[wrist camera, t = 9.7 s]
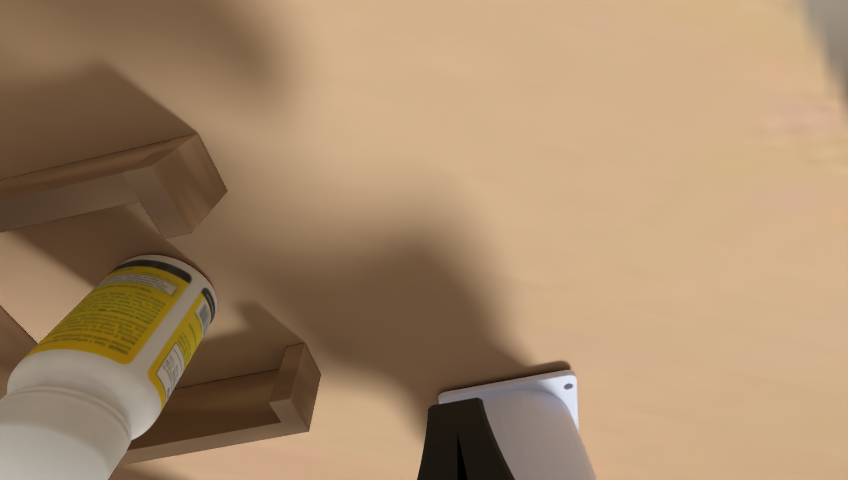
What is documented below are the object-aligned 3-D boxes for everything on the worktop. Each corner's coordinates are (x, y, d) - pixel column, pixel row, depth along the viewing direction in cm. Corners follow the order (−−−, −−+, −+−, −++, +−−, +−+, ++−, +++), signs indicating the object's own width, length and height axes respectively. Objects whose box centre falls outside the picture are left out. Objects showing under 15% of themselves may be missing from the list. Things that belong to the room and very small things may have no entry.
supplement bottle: (90, 277, 19) (-97, 447, 12) (168, 235, 18) (18, 393, 11) (167, 342, 22) (49, 519, 14) (240, 308, 21) (154, 479, 13)
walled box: (320, 374, 23) (308, 431, 20) (90, 417, 24) (46, 478, 21) (198, 133, 16) (151, 165, 13) (-122, 209, 17) (-234, 256, 14)
